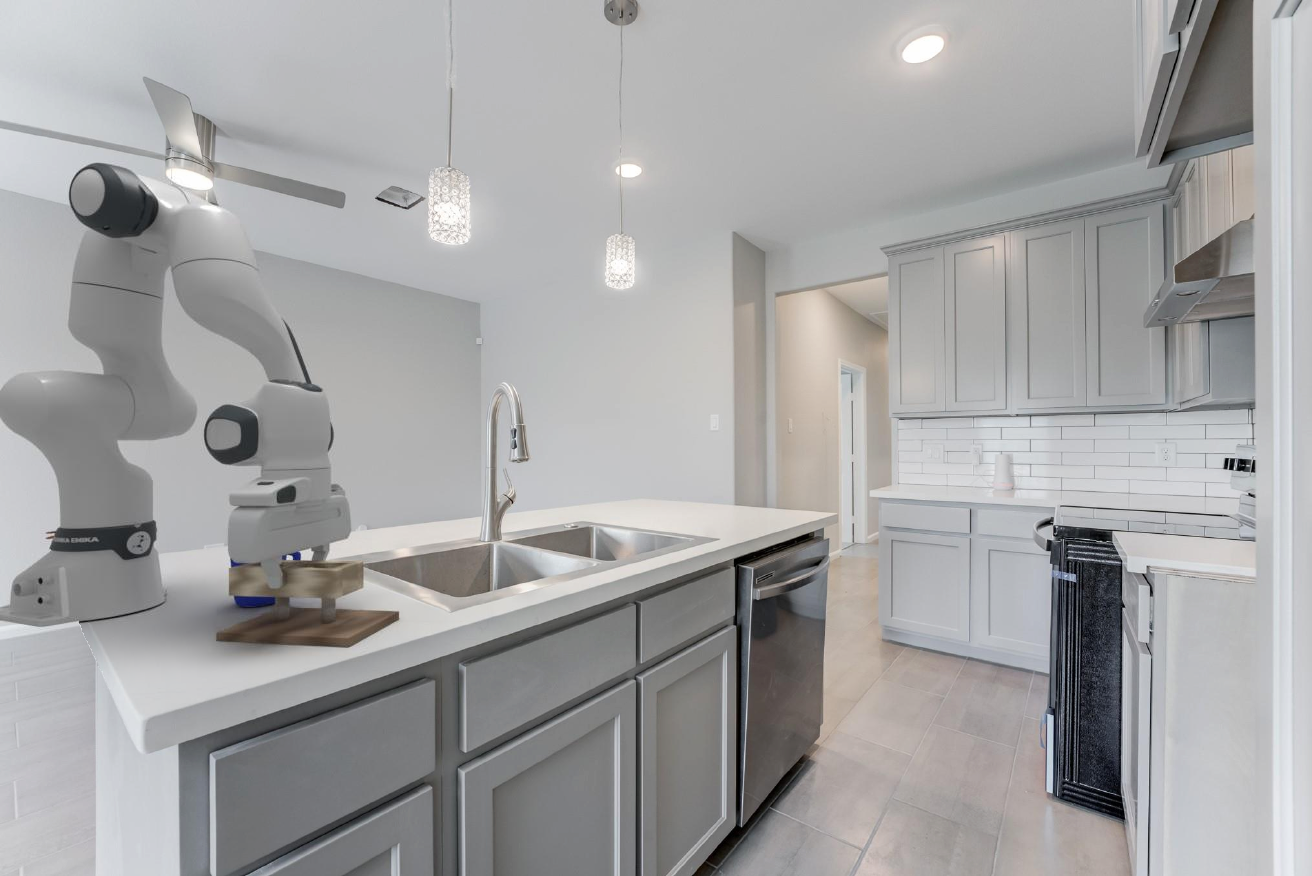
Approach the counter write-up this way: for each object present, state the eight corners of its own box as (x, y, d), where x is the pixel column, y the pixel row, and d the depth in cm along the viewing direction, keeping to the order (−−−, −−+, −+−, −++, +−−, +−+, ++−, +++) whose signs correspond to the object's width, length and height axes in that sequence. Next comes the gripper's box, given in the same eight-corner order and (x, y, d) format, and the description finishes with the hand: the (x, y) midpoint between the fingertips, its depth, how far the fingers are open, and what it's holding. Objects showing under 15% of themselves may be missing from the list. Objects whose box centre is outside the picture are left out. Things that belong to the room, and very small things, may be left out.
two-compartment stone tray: (228, 595, 82) (228, 568, 82) (262, 585, 88) (262, 559, 88) (336, 598, 80) (336, 570, 80) (363, 587, 86) (363, 561, 86)
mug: (277, 613, 91) (277, 551, 91) (216, 608, 93) (216, 549, 93) (317, 599, 99) (317, 542, 99) (260, 595, 101) (260, 540, 101)
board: (216, 640, 79) (216, 600, 79) (283, 614, 90) (283, 579, 90) (348, 647, 76) (348, 605, 76) (399, 619, 88) (399, 582, 88)
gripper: (326, 482, 94) (326, 564, 94) (217, 494, 74) (218, 599, 74) (361, 482, 94) (361, 565, 94) (261, 494, 73) (261, 600, 73)
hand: (297, 580), depth 84 cm, fingers closed on two-compartment stone tray, 6 cm apart
